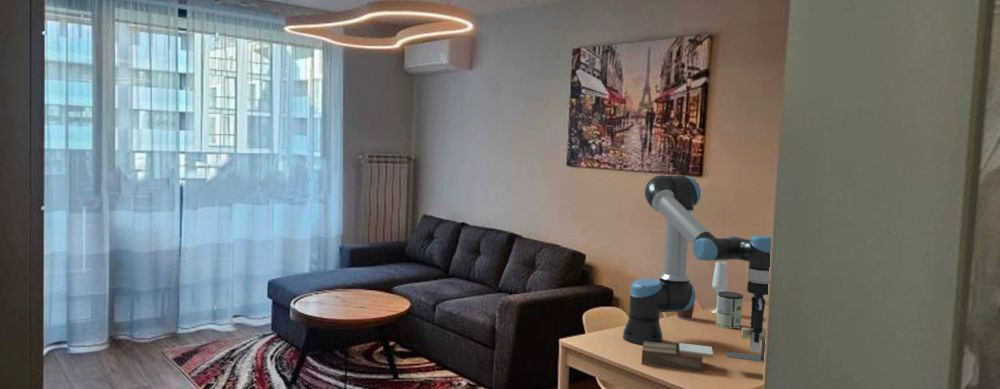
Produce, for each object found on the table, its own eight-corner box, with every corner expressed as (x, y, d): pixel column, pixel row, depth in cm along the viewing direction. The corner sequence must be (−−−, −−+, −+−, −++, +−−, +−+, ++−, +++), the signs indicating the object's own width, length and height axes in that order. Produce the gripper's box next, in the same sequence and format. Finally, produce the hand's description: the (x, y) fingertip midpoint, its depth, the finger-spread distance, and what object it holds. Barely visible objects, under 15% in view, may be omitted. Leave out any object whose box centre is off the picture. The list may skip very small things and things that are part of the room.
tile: (679, 346, 239) (679, 342, 239) (711, 350, 237) (711, 346, 236) (679, 353, 231) (679, 350, 230) (712, 357, 228) (713, 354, 228)
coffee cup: (697, 321, 298) (699, 294, 297) (676, 320, 298) (678, 293, 297) (691, 316, 307) (693, 290, 306) (671, 314, 307) (673, 289, 306)
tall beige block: (772, 358, 230) (774, 329, 229) (774, 363, 224) (776, 333, 224) (726, 352, 234) (728, 324, 233) (727, 357, 228) (729, 328, 227)
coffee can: (719, 321, 300) (721, 290, 299) (743, 325, 294) (745, 293, 293) (712, 325, 291) (715, 293, 290) (737, 330, 286) (740, 297, 285)
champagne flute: (707, 311, 319) (711, 261, 317) (721, 311, 319) (725, 261, 318) (713, 314, 312) (717, 263, 311) (727, 315, 313) (731, 264, 311)
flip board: (642, 354, 244) (643, 339, 244) (700, 361, 239) (701, 346, 239) (641, 364, 232) (642, 348, 232) (701, 371, 228) (702, 355, 227)
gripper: (774, 286, 218) (769, 357, 220) (768, 278, 234) (763, 344, 235) (750, 284, 220) (745, 355, 222) (745, 276, 236) (740, 342, 237)
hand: (754, 349), depth 229 cm, fingers closed on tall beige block, 3 cm apart
